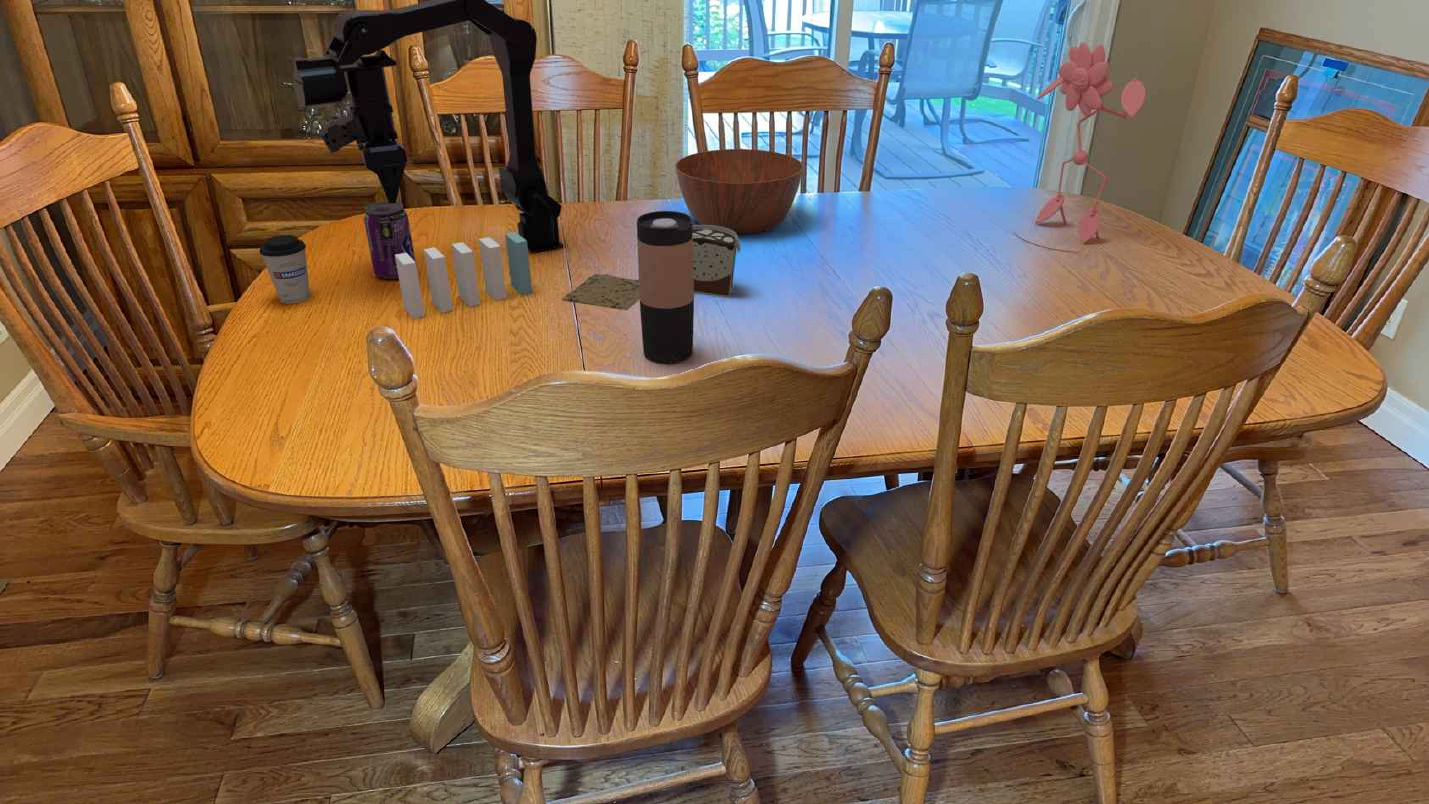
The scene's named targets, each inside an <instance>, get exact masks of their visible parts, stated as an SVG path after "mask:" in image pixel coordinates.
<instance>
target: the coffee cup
mask: <svg viewBox="0 0 1429 804" xmlns="http://www.w3.org/2000/svg"><path fill="white" fill-rule="evenodd" d="M263 242H264V243H263V244H262V245H261V246H260V247H259V251H258V252H259V254H260V255H261V256H262V259H263V262H264V264H265V266H266V269H267V272H268V274H269V276H270V279H271V282H272V284H273V286H274V289H275V291H276V294H277V296H278V299H279V301H280V303H282V304H286V305H288V304H289V305H292V304H298V303H303V302H306V301H307V300H309V299H310V297H311V295H310V294H311V293H310V283H309V273H308V264H307V253H306V248H307V245H306V243H305V242H304V241H303V240H301V239H299V238H297V236H295V235H293V234H281V235H275V236H271V237H269V238H266V239H265V240H264V241H263Z"/></svg>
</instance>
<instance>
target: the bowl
mask: <svg viewBox="0 0 1429 804" xmlns="http://www.w3.org/2000/svg"><path fill="white" fill-rule="evenodd" d="M804 169H805V166H804V164H803V162H802V161H801V160H799V159H798V158H796V157H794V156H791V155H788V154H785V153H781V152H776V151H773V150H772V151H771V150H770V151H769V150H762V149H752V148H750V149H749V148H728V149H727V148H726V149H724V148H723V149H712V150H707V151H700V152H695V153H692V154H688V155H687V156H684V157H682V158H680V159H679V160H678V161H676V162H675V172H676V176H677V181H678V185H679V188H680V189H679V190H680V192H681V196H682V198H683V200H684V201H683V202H684V204H685V206H686V208H687V210H688V212H689V213H690V215H691V216H692V219H694V220H695V221H696V222H697V224H698V225H714V226H720V227H725V228H728V229H730V230H732V231H734V232H735V233H736V234H737V235H747V234H748V235H749V234H750V235H751V234H757V233H761V232H766V231H768V230H771V229H773V228H776V226H778V225H779V224H781V222H783V220H785V218H786V217H787V215H788V213H789V211H790V209H791V207H792V205H793V203H794V201H795V198H796V196H797V193H798V190H799V188H800V184H801V181H802V176H803V173H804V172H803V171H804Z"/></svg>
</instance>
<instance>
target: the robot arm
mask: <svg viewBox="0 0 1429 804" xmlns="http://www.w3.org/2000/svg"><path fill="white" fill-rule="evenodd" d="M468 21H469V23H471V24H472V25H473V26H474V27H476V28H477V29H478V30H479V31H480V32H482V33H484V34H485V35H486V36H488V37H489V41H490V45H491V49H492V52H493V56H494V58H495V61H496V63H497V66H498V67H499V70H500V72H501V76H502V85H503V98H504V108H505V109H504V110H505V119H506V130H507V143H508V153H509V157H508V162H507V164H506V166H505V167H503V166H500V167H498V172H499V176H500V180H501V181H500V186H499V189H500V190H502V191H503V192H504V196H505V197H506V198H507V199H508V201H510V202H511V203H513V204H514V205H515V208H516V209H517V211H520V212H522V213H519V214H518V215H519V221H518V222H517V231H518V235H520V236H521V237H522V238H524V239H525V240H526V241H527V246H528V252H529V253H538V252H543V251H547V250H548V251H549V250H552V249H558V248H562V247H564V243H563V242H561V241H560V232H559V231H560V230H559V221H558V218H560V216H561V211H562V207H563V206H562V204H560V203H559V202H558V201H556V200H555V199H554V198H553V197H552V196H550V195H549V192H548V187H547V183H546V179H545V176H544V173H543V171H542V169H541V166H540V164H539V162H538V160H537V152H536V139H535V126H534V125H535V123H534V114H533V113H534V112H533V100H532V99H533V97H532V87H531V73H532V71H533V66H534V64H535V61H536V57H537V45H538V37H537V31H536V29H535V28H534V27H533V26H532V25H531V24H530V23H529V22H528V21H527V20H524V19H520V18H516V17H512V16H510V14H507V13H506V12H504V11H502V10H501V9H499V8H497V7H496V6H494V5H493V4H492V3H490V2H488V1H487V0H429V1H423V2H420V3H415V4H411V5H407V6H403V7H399V8H393V9H358V10H345V11H342V12H340V13H339V14H338V15H337V16H336V18H335V20H334V23H333V28H332V30H333V34H334V35H333V37H332V39H331V41H330V43H329V45H328V47H327V48H326V52H324V55H323V56H322V57H316V58H315V57H313V58H302V57H301V58H294V59H292V63H293V80H292V81H293V86H294V89H295V92H296V96H297V99H298V101H299V103H300V104H301V106H302V107H303V108H308V107H314V106H315V107H316V106H323V105H329V104H336V103H337V104H338V103H342V102H343V98H346V97H347V95H348V91H349V96H350V101H351V105H350V106H349V109H350V114H348V115H346V116H344V117H341V118H338V119H336V120H335V121H333V122H331V123H329V124H326V125H324V126H323V127H321V128H320V129H318V133H319V136H320V138H321V140H322V141H323V142H324V144H325V146H326V147H327V149H328V151H329V152H330V154H332V153H333V154H334V153H337V152H338V151H340V150H341V148H345V147H346V146H347V145H350V144H351V143H354V142H355V143H356V145H357V147H358V150H359V151H361V154H362V159H363V162H364V165H365V169H367V170H368V171H371V172H373V173H374V174H375V175H377V179H378V181H379V183H380V185H381V188H382V190H383V192H384V194H385V197H386V200H387V201H388V202H389V203H390V204H392V203H396V202H397V200H398V195H399V192H400V186H401V185H402V184H401V183H402V179H403V175H404V173H405V172H404V171H405V168H406V166H407V163H408V159H407V158H408V157H407V152H406V149H405V147H404V146H403V144H402V143H400V142H399V141H397V140H398V139H399V136H398V132H397V131H396V127H395V126H396V125H395V121H394V115H393V113H394V110H393V109H394V108H393V106H392V104H391V99H390V94H389V90H388V89H389V88H388V84H387V79H386V78H387V77H386V73H385V68H389V67H396V66H397V65H398V62H397V61H396V60H394V59H393V58H391V56H389V55H388V53H386V51H385V50H383V49H385V48H388V47H390V46H391V45H393V44H394V43H395V42H397V41H398V40H400V39H402V38H403V39H404V37H407V36H411V35H415V34H420V33H423V32H428V31H431V30H436V29H440V28H444V27H447V26H448V27H449V26H453V25H456V24H460V23H464V22H468Z"/></svg>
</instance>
